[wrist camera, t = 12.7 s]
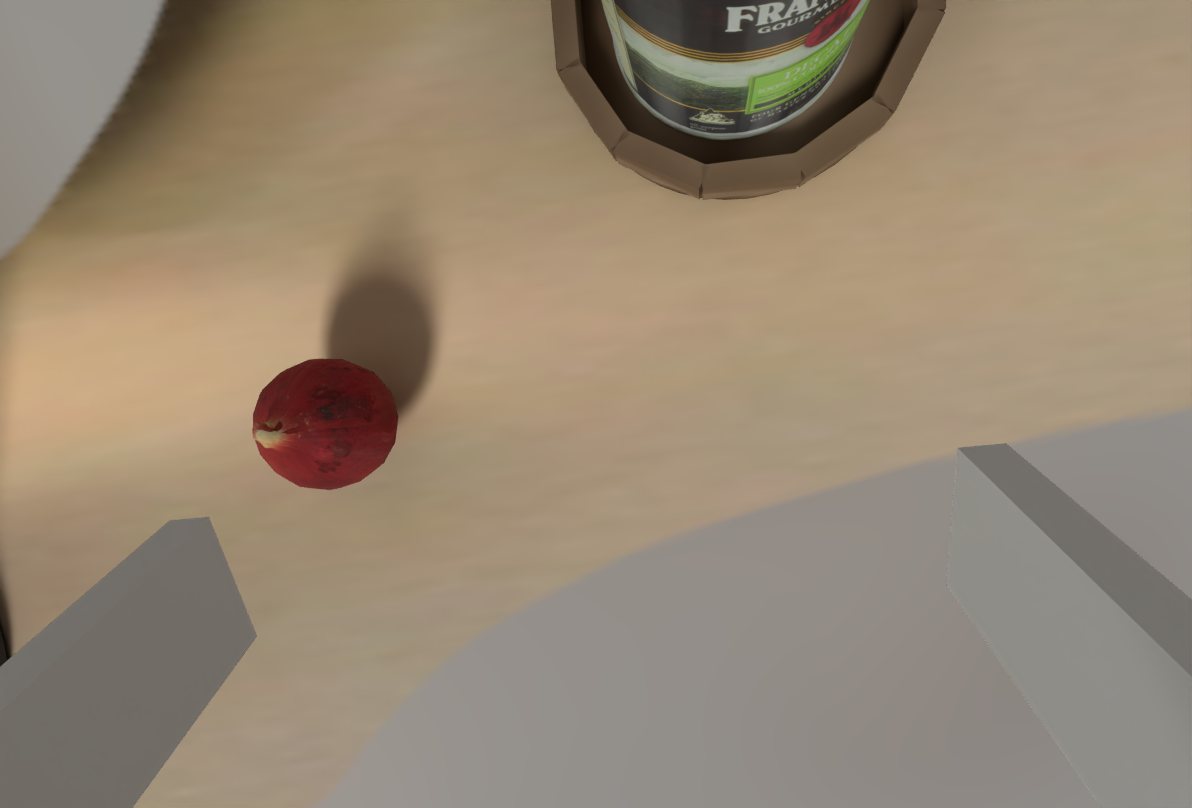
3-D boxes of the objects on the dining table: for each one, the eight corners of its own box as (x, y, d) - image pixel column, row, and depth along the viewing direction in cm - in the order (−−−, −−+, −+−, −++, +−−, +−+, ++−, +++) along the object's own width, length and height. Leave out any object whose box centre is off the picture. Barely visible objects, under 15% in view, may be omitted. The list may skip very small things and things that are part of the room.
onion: (402, 341, 33) (306, 338, 25) (440, 452, 33) (357, 484, 25) (300, 379, 34) (177, 388, 26) (338, 487, 34) (227, 528, 26)
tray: (579, 218, 31) (567, 206, 28) (551, -126, 30) (536, -171, 27) (930, 176, 28) (953, 159, 26) (912, -202, 27) (933, -259, 25)
